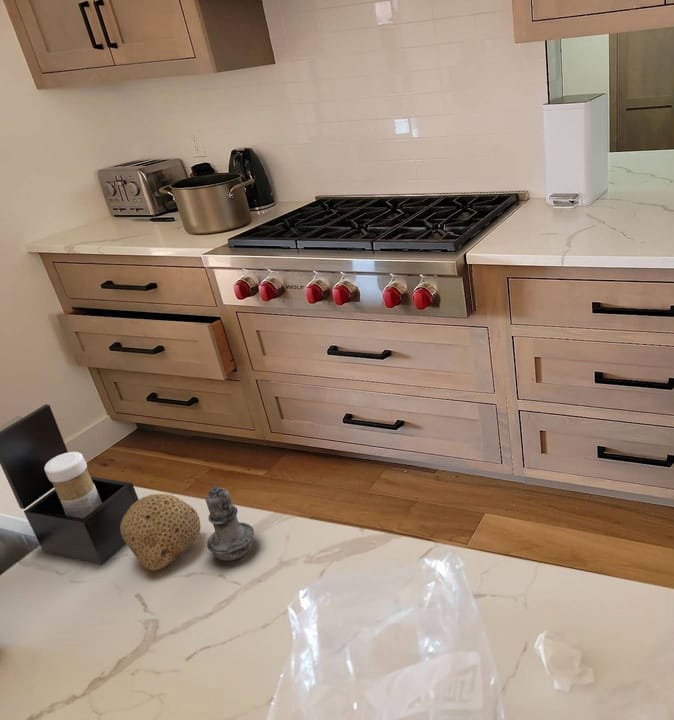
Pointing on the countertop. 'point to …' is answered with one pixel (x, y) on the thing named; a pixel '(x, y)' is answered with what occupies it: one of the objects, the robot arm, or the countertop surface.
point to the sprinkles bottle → (73, 484)
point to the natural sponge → (159, 529)
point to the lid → (30, 453)
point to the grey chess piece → (226, 527)
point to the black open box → (83, 523)
